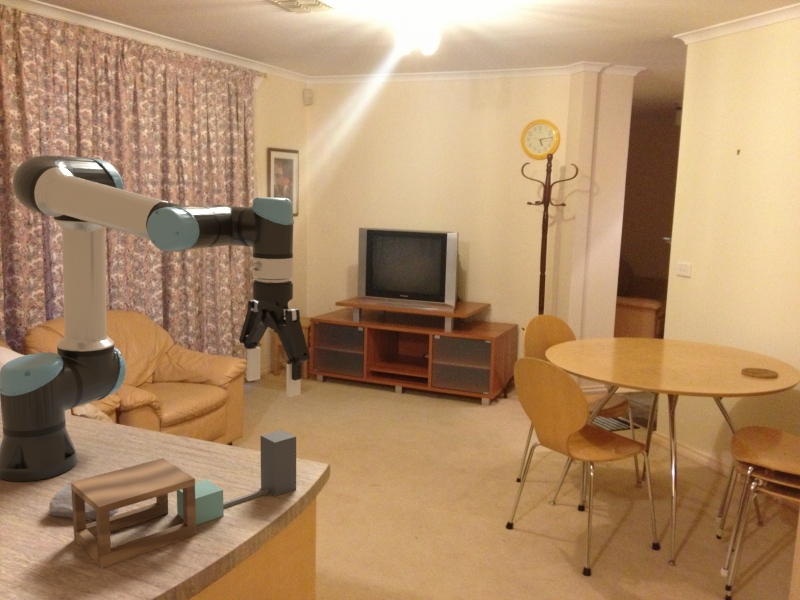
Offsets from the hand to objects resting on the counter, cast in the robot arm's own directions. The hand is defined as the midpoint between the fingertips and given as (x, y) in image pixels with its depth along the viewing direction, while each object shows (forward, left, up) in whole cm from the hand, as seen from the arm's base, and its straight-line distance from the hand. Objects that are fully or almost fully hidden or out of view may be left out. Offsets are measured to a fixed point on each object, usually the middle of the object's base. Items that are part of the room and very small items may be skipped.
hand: (272, 387), depth 134 cm
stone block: (-15, -31, -21) cm, 40 cm away
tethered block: (+1, -8, -21) cm, 22 cm away
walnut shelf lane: (+1, -28, -21) cm, 35 cm away
